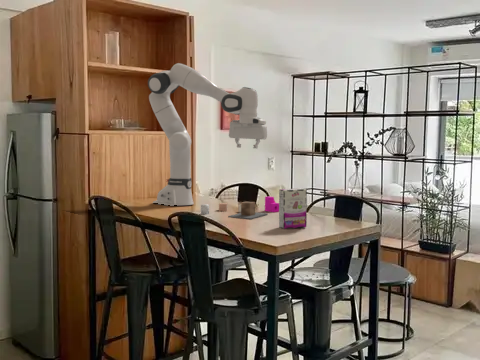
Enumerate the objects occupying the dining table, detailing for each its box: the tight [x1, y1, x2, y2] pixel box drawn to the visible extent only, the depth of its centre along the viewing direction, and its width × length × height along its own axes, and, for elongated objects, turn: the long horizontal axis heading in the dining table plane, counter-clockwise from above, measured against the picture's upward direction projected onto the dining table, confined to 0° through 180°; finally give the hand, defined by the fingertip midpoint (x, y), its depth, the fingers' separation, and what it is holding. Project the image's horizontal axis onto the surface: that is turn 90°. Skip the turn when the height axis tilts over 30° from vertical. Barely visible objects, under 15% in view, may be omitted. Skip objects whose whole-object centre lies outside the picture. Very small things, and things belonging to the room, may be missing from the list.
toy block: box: [264, 196, 279, 213], centre depth 282 cm, size 15×6×8 cm, turn 128°
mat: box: [227, 211, 268, 221], centre depth 260 cm, size 12×18×1 cm, turn 152°
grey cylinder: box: [200, 203, 210, 215], centre depth 264 cm, size 4×4×5 cm
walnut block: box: [240, 201, 256, 216], centre depth 260 cm, size 5×5×6 cm
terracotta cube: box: [218, 202, 228, 212], centre depth 277 cm, size 4×4×4 cm
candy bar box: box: [278, 187, 308, 230], centre depth 231 cm, size 11×5×16 cm, turn 114°
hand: (247, 148), depth 273 cm, fingers open, 8 cm apart
